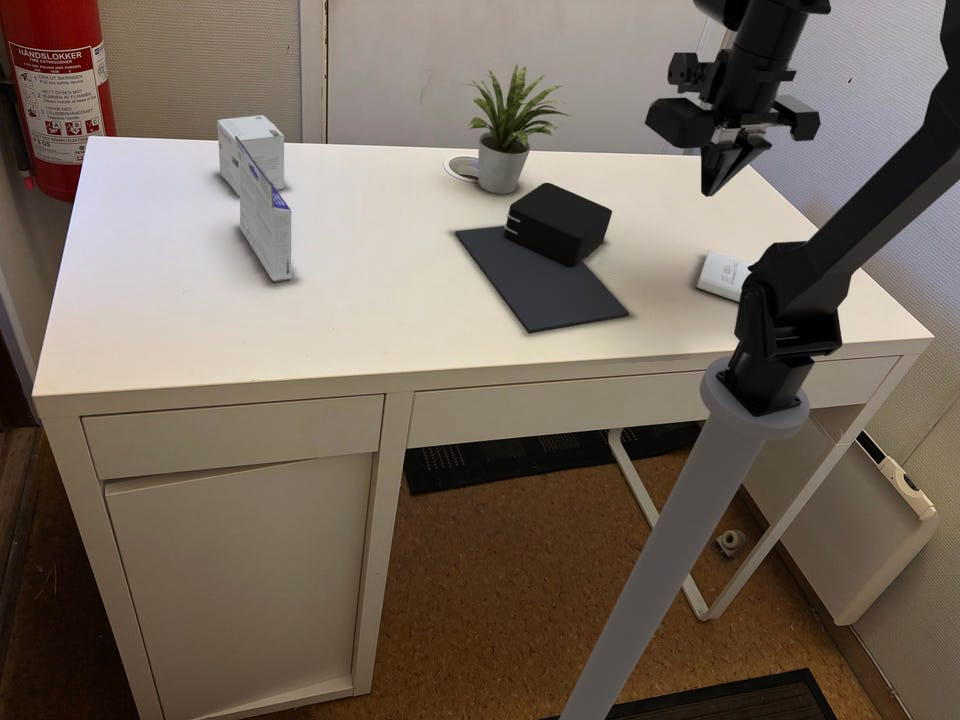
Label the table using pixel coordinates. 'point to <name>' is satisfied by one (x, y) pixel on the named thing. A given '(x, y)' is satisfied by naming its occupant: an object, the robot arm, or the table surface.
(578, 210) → the electronic device
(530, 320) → the mat
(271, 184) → the ink box
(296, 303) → the table surface
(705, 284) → the hard drive
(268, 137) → the white cardboard box
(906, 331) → the table surface
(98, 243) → the table surface
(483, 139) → the house plant
